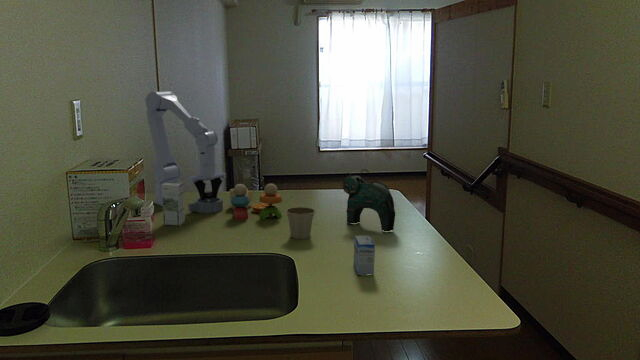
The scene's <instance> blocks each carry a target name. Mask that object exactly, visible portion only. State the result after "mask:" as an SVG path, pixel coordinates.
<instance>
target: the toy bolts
mask: <svg viewBox="0 0 640 360" xmlns="http://www.w3.org/2000/svg"><path fill="white" fill-rule="evenodd" d="M247 189H248V188H247V187H246V185H244V184H243V183H238V184H236V185H234V194H235V195H234V196H233V197H232V200H231V203H232V204H233V205H234V206H236V207H235V208H234V209H233V220H236V221H242V220H243V221H244V220H245V221H246V220H248V219H249V214H248V212H249V211H248V208H246V207H245V206H247V205H248V206H249V204H250V203H251V201H250V200H249V198H248V196H247V195H245V194H246V192H247ZM282 199H283V198H282V196H281V194H279V193H278V187H277V186H276V185H275V183H268V184H266V185H265V186H264V193H262V194H260V197H259V202H260V203H255V204H252V206H251V208H252V210H253V213H256V214H259V218H260V219H261V220H265V219H266V218H267V217H269V218H272V217H273V215H275V216H276V218H277V219H281V218H282V211H281V210H280V209H279V208H278V207H276V205H275V204H280V203H282V202H283V200H282Z"/></svg>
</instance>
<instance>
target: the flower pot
mask: <svg viewBox="0 0 640 360" xmlns="http://www.w3.org/2000/svg"><path fill="white" fill-rule="evenodd" d="M285 212H286V214H287V217H288V225H289V232H290V233H289V234H290V237H291V238H293V239H297V240H299V239H302V240H304V238H305V239H308V238H310V237H311V231H312V224H313V220H314V219H313V217H314V216H315V213H316V210H315V208H313V207H304V206H296V207H290V208H289V207H288V208H287V209H285Z"/></svg>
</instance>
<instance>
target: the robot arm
mask: <svg viewBox="0 0 640 360" xmlns="http://www.w3.org/2000/svg"><path fill="white" fill-rule="evenodd" d="M144 101H145V106H146V119H147V122H148V126H149V130H150V135H151V139H152V143H153V146H154V147H153V148H154V152H155V156H156V160H155V161H154V162H153V164H152V168H153V172H152V175H153V178H154V180H155V181H156V183H155V185H154V191H155V193H154V194H155V200H154V201H153V203H154V204H156V205H159V206H160V207H163V201H162V184H163V183H165V182H179V178H180V176H181V174H182V173H181V172H182V171H181V167H180V165H178V162H177V161H178V160H177V159H176V158H174V157H173V156H172V155H171V154H172V153H171V150H170V145H169V141H168V136H167V132H166V127H165V123H164V119H163V116H164V115H165V113H166V112H167V111H170V112H172V113H173V114H174V115H175V116H176V117H177V118H178V119H179V120H181V121H182V122H183V123H184V125H183V127H184V129H186V131H187V132H188V133H189V134H190V135H191V136H192V137H193V139H194V140H195V144H196V146H197V150H198V152H199V153H198V154H199V174H197V175H193V176H189V177H188V182H189V183H191V184H194V186H195V188H196V189H197V192H198V194H199V198H200V199H201V200H205V192H206V185H207V184H206V182H205V181H209V182H210V185H211V192H213V198H217V197H218V193H219V190H220V187H221V185H222V183H223V179H226V178H227V172H216V146H215V145H217V144H218V139H219V138H218V135H217V133H216V132H215V130H210V129H209V128H208V127H206V126H205V125H204V124H203V123H202V122H201V119H200V118H199V117H196V116H191V115H190V113H189V112H188V111H187V109H185V108H184V106H183V105H182V104H181V103H180V102H179V100H178V96H177V95H175V94H174V92H172V91H170V90H163V91H162V90H161V91H153V90H152V91H150V92H149V93H148V94H147V95H146V97H145V98H144Z"/></svg>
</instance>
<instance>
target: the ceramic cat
mask: <svg viewBox="0 0 640 360" xmlns="http://www.w3.org/2000/svg"><path fill="white" fill-rule="evenodd" d="M363 171H365V172H367V174H370V172H369V170H368V169H366V168H364V169H362V170H361V172H360V175H352V174H351V173H350V172H348V173H347V174H346V177H345V178H344V180H343V182H342V188H343V191H344V193H346V194H348V198H347V201H346V202H347V204H346V205H347V206H346V223H347V222H348V223H357V222H360V223H361V214H362V212H363V210H364V209H371V210H373V211H375V212H376V213H377V215H378V217H379V221H380V225H381V231H382V230H384V231H390V230H393V231H394V229H395V228H394V227H395V221H396V220H395V219H396V210H395V202H394V198H393V195H392V194H391V192H390V189H389V188H388V186H387V184H385V183H384V182H381V181H379V180H375V181H374V180H373V181H369V182H368V181H367V182H366V180H364V179H363V176H362V175H363Z"/></svg>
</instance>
